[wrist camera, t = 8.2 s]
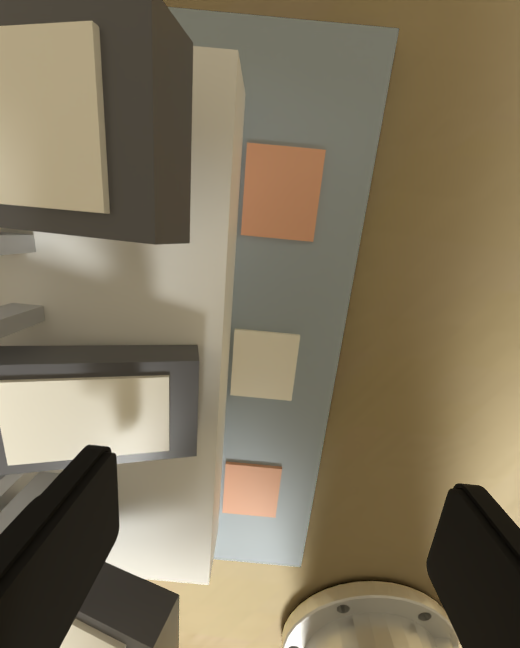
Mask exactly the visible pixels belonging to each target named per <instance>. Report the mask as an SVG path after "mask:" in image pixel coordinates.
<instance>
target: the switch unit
mask: <svg viewBox="0 0 520 648" xmlns="http://www.w3.org/2000/svg"><path fill="white" fill-rule="evenodd" d="M168 8H169V10H170V11H171V13H172V14H173V15H174V17H175V18H176V20H177V21H178V22H179V24H180V25H181V26H182V28H183V29H184V31H185V32H186V33H187V35H188V36H189V37H190V39H191V40H192V42H193V86H192V142H191V198H190V243H186V244H158V245H154V244H145V243H136V242H127V241H118V240H109V239H100V238H91V237H82V236H73V235H64V234H55V233H45V232H36V231H27V230H18V229H9V228H0V346H75V345H198V352H199V360H200V363H199V395H198V428H197V456H193V457H183V458H173V459H163V460H152V461H142V462H132V463H122V464H117V479H118V503H119V533H118V537H117V539H116V542H115V544H114V546H113V548H112V549H111V551H110V553H109V555H108V557H107V559H106V561H105V562H106V563H109V564H111V565H113V566H115V567H118V568H120V569H122V570H124V571H127V572H129V573H131V574H133V575H136V576H138V577H140V578H142V579H149V580H160V581H171V582H181V583H192V584H203V585H209V582H210V576H211V570H212V564H213V559H218V560H229V561H240V562H251V563H261V564H272V565H283V566H293V567H301V564H302V559H303V553H304V548H305V542H306V537H307V531H308V526H309V520H310V515H311V510H312V504H313V499H314V493H315V488H316V482H317V477H318V471H319V466H320V460H321V455H322V449H323V444H324V438H325V433H326V427H327V422H328V416H329V411H330V405H331V400H332V394H333V389H334V383H335V378H336V372H337V367H338V361H339V356H340V350H341V345H342V339H343V334H344V328H345V323H346V318H347V312H348V307H349V301H350V296H351V290H352V285H353V279H354V274H355V268H356V263H357V257H358V252H359V246H360V241H361V235H362V230H363V224H364V219H365V213H366V208H367V202H368V197H369V191H370V186H371V180H372V175H373V169H374V164H375V158H376V153H377V147H378V142H379V137H380V131H381V126H382V120H383V115H384V109H385V104H386V98H387V93H388V87H389V82H390V76H391V71H392V65H393V60H394V54H395V49H396V43H397V38H398V32H399V28H390V27H380V26H369V25H358V24H347V23H337V22H326V21H315V20H304V19H293V18H283V17H272V16H261V15H250V14H240V13H229V12H218V11H207V10H196V9H186V8H175V7H168ZM63 470H64V469H61V470H51V471H41V472H31V473H21V474H10V475H0V534H1V533H2V532H3V531H4V530H5V528H6V527H7V526H8V525H9V524H10V523H11V522H12V521H13V520H14V519H15V518H16V517H17V516H18V515H19V514H20V513H21V511H22V510H23V509H24V508H25V507H26V506H27V505H28V504H29V503H30V502H31V501H32V500H33V499H34V498H36V497H37V496H39V495H40V494H41V493H42V492H43V491H44V490H45V489H46V488H47V487H48V486H49V485H50V484H51V483H52V482H53V480H54V479H55V478H56V477H57V476H58V475H59V474H60V473H61V472H62V471H63Z"/></svg>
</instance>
